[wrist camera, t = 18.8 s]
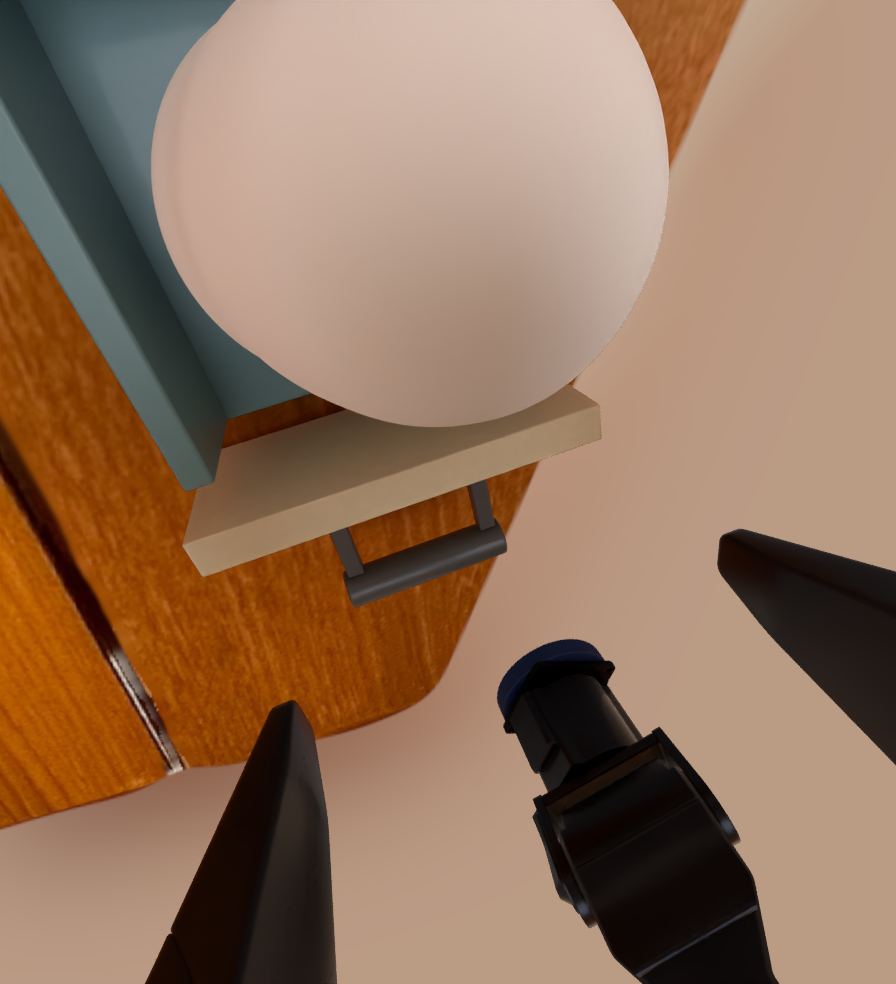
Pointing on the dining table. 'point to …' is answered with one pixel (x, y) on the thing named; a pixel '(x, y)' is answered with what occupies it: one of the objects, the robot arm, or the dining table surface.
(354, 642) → the dining table surface
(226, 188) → the figurine
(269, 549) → the drawer
